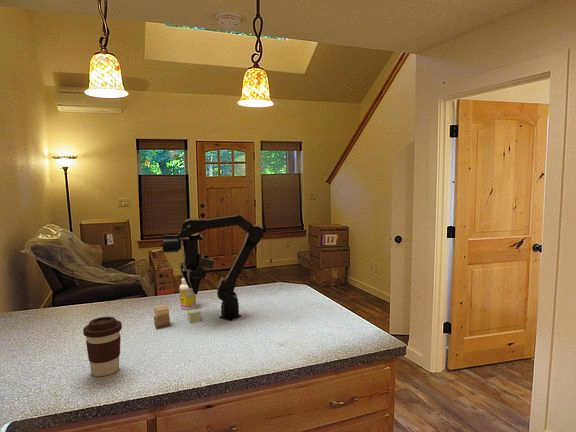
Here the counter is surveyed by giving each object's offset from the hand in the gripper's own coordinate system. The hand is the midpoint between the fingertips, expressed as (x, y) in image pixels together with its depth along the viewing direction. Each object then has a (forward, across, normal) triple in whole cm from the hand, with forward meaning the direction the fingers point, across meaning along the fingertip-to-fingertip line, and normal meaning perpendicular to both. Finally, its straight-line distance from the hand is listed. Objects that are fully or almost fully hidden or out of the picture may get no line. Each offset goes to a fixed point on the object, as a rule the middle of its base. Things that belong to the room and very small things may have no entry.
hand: (193, 291), depth 150 cm
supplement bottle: (+12, +17, -1) cm, 21 cm away
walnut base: (+12, 0, +12) cm, 17 cm away
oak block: (+8, 0, +12) cm, 15 cm away
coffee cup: (+12, -28, +32) cm, 45 cm away
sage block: (+12, 0, 0) cm, 12 cm away
